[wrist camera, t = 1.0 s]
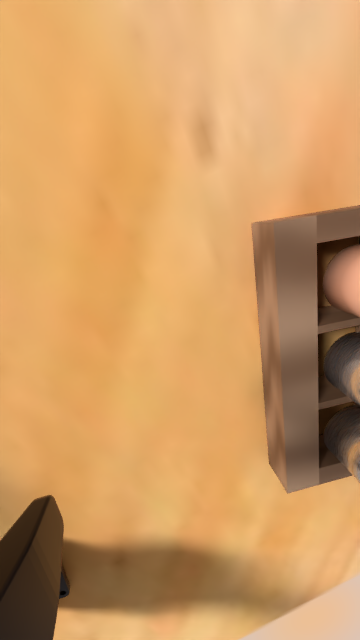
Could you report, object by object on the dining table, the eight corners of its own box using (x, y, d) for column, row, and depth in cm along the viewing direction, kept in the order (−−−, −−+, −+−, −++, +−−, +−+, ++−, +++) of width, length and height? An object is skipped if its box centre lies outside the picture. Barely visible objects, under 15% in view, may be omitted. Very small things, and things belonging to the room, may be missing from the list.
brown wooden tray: (378, 434, 26) (409, 459, 24) (269, 463, 25) (287, 493, 22) (393, 199, 21) (436, 195, 18) (251, 223, 19) (273, 222, 16)
